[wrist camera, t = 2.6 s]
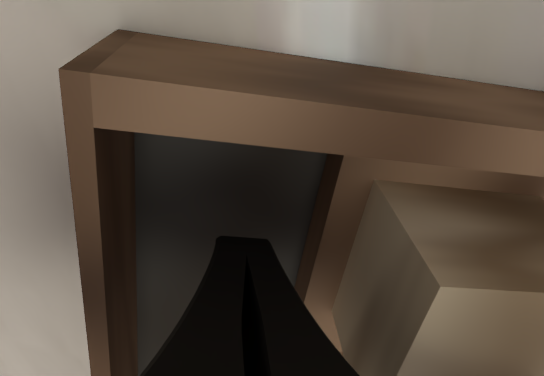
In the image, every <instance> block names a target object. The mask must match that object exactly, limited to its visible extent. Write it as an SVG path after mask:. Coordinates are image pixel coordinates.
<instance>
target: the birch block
mask: <svg viewBox="0 0 544 376" xmlns="http://www.w3.org/2000/svg"><path fill="white" fill-rule="evenodd" d="M332 315H333V318H334V322H335V326H336V329H337V333H338V336H339V340H340V344H341V347H342V351H343V355H344V358H345V359H346V361H347V362H348V363H349V364H350V365H351V366H352V367H353V369H354V370H355V371H356V372H357V373H358V374H359V375H360V376H544V200H543V199H542V198H540V197H539V196H531V195H522V194H512V193H502V192H492V191H482V190H472V189H462V188H452V187H443V186H433V185H423V184H413V183H403V182H393V181H383V180H374V182H373V185H372V188H371V191H370V194H369V197H368V200H367V203H366V206H365V209H364V212H363V216H362V219H361V222H360V225H359V228H358V231H357V234H356V237H355V240H354V243H353V246H352V250H351V253H350V256H349V259H348V262H347V265H346V268H345V271H344V274H343V277H342V280H341V283H340V287H339V290H338V293H337V296H336V299H335V302H334V305H333V308H332Z"/></svg>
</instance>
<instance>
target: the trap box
mask: <svg viewBox="0 0 544 376" xmlns="http://www.w3.org/2000/svg"><path fill="white" fill-rule="evenodd" d="M59 78H60V87H61V96H62V106H63V115H64V125H65V134H66V143H67V153H68V162H69V172H70V181H71V190H72V200H73V209H74V219H75V228H76V237H77V247H78V256H79V266H80V275H81V285H82V294H83V303H84V313H85V322H86V332H87V341H88V350H89V360H90V369H91V376H140V375H141V373H142V372H143V371H144V369H145V368H146V367H147V366H148V364H149V363H150V362H151V360H152V359H153V358H154V357H155V355H156V354H157V352H158V351H159V350H160V348H161V347H162V345H163V344H164V343H165V341H166V340H167V338H168V337H169V335H170V334H171V332H172V331H173V329H174V328H175V326H176V325H177V323H178V322H179V320H180V318H181V317H182V315H183V313H184V312H185V310H186V308H187V306H188V305H189V303H190V301H191V300H192V298H193V296H194V294H195V292H196V291H197V289H198V286H199V284H200V282H201V280H202V278H203V276H204V274H205V272H206V270H207V267H208V265H209V263H210V260H211V257H212V254H213V251H214V247H215V242H216V238H218V237H219V236H234V237H247V238H260V239H268V240H269V242H270V243H271V245H272V247H273V249H274V251H275V254H276V256H277V258H278V260H279V262H280V263H281V265H282V267H283V269H284V271H285V273H286V275H287V276H288V278H289V280H290V282H291V283H292V285H293V287H294V288H295V290H296V291H297V293H298V295H299V296H300V298H301V300H302V301H303V303H304V304H305V306H306V307H307V309H308V310H309V312H310V313H311V315H312V316H313V318H314V319H315V320H316V322H317V323H318V325H319V326H320V328H321V329H322V330H323V332H324V333H325V334H326V336H327V337H328V338H329V340H330V341H331V342H332V343H333V345H334V346H335V347H336V348H337V350H338V351H339V352H340V353H341V355H342V356H343V357H344V355H343V351H342V347H341V344H340V340H339V336H338V333H337V329H336V326H335V322H334V318H333V315H332V308H333V305H334V302H335V299H336V296H337V293H338V290H339V287H340V283H341V280H342V277H343V274H344V271H345V268H346V265H347V262H348V259H349V256H350V253H351V250H352V246H353V243H354V240H355V237H356V234H357V231H358V228H359V225H360V222H361V219H362V216H363V212H364V209H365V206H366V203H367V200H368V197H369V194H370V191H371V188H372V185H373V182H374V180H383V181H393V182H403V183H413V184H423V185H433V186H443V187H452V188H462V189H472V190H482V191H492V192H502V193H512V194H522V195H531V196H539V197H540V198H542V199H543V200H544V92H542V91H536V90H529V89H522V88H515V87H508V86H501V85H494V84H488V83H481V82H474V81H467V80H460V79H453V78H446V77H440V76H433V75H426V74H419V73H412V72H405V71H399V70H392V69H385V68H378V67H371V66H364V65H357V64H351V63H344V62H337V61H330V60H323V59H316V58H309V57H303V56H296V55H289V54H282V53H275V52H268V51H261V50H255V49H248V48H241V47H234V46H227V45H220V44H214V43H207V42H200V41H193V40H186V39H179V38H172V37H166V36H159V35H152V34H145V33H138V32H131V31H124V30H116V31H115V32H113V33H112V34H110V35H109V36H107V37H106V38H104V39H103V40H101V41H100V42H98V43H97V44H95V45H94V46H92V47H91V48H89V49H88V50H86V51H85V52H83V53H82V54H80V55H79V56H77V57H76V58H74V59H73V60H71V61H70V62H68V63H67V64H65V65H64V66H62V67H61V68H59Z"/></svg>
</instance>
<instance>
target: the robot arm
mask: <svg viewBox="0 0 544 376" xmlns="http://www.w3.org/2000/svg"><path fill="white" fill-rule="evenodd" d="M140 376H360V375H359V374H358V373H357V372H356V371H355V370H354V369H353V367H352V366H351V365H350V364H349V363H348V362H347V361H346V359H345V358H344V357H343V356H342V355H341V353H340V352H339V351H338V350H337V348H336V347H335V346H334V345H333V343H332V342H331V341H330V340H329V338H328V337H327V336H326V334H325V333H324V332H323V330H322V329H321V328H320V326H319V325H318V323H317V322H316V320H315V319H314V318H313V316H312V315H311V313H310V312H309V310H308V309H307V307H306V306H305V304H304V303H303V301H302V300H301V298H300V296H299V295H298V293H297V291H296V290H295V288H294V287H293V285H292V283H291V282H290V280H289V278H288V276H287V275H286V273H285V271H284V269H283V267H282V265H281V263H280V262H279V260H278V258H277V256H276V254H275V251H274V249H273V247H272V245H271V243H270V242H269V240H268V239H260V238H247V237H234V236H219V237H218V238H216V242H215V247H214V251H213V254H212V257H211V260H210V263H209V265H208V267H207V270H206V272H205V274H204V276H203V278H202V280H201V282H200V284H199V286H198V289H197V291H196V292H195V294H194V296H193V298H192V300H191V301H190V303H189V305H188V306H187V308H186V310H185V312H184V313H183V315H182V317H181V318H180V320H179V322H178V323H177V325H176V326H175V328H174V329H173V331H172V332H171V334H170V335H169V337H168V338H167V340H166V341H165V343H164V344H163V345H162V347H161V348H160V350H159V351H158V352H157V354H156V355H155V357H154V358H153V359H152V360H151V362H150V363H149V364H148V366H147V367H146V368H145V369H144V371H143V372H142V373H141V375H140Z"/></svg>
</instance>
